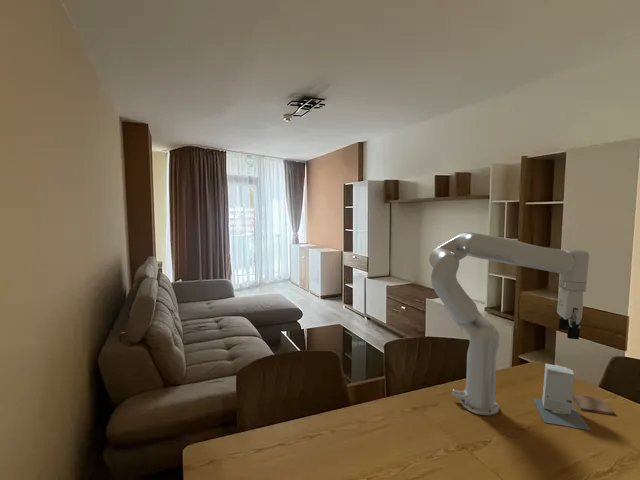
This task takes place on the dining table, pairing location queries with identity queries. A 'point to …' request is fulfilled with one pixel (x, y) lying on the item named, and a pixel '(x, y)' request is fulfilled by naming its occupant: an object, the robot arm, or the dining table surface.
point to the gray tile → (561, 417)
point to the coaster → (592, 404)
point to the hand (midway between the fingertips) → (568, 334)
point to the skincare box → (558, 388)
